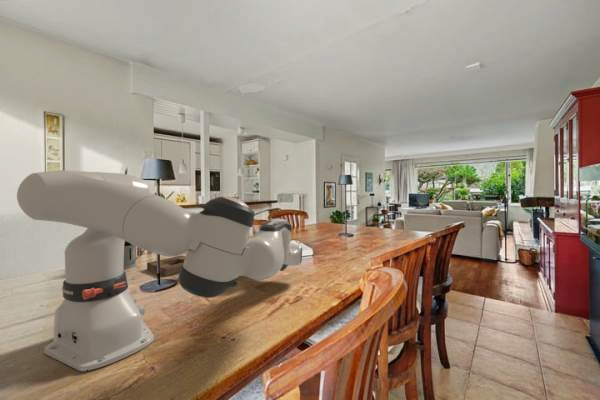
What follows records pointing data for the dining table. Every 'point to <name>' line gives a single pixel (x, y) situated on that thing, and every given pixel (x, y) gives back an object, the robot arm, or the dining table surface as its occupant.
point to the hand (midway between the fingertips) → (229, 251)
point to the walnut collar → (167, 265)
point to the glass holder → (130, 255)
